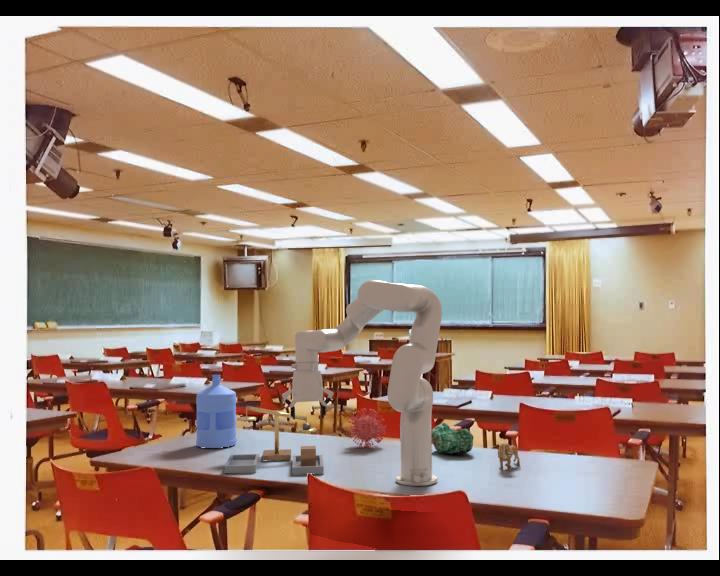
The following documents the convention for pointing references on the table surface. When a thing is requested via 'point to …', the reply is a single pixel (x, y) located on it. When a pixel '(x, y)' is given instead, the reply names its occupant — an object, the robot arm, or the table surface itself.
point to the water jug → (216, 416)
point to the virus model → (366, 428)
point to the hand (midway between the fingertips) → (308, 418)
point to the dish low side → (301, 470)
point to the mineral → (451, 439)
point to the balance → (277, 453)
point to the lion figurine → (507, 455)
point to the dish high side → (242, 463)
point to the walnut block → (308, 455)
